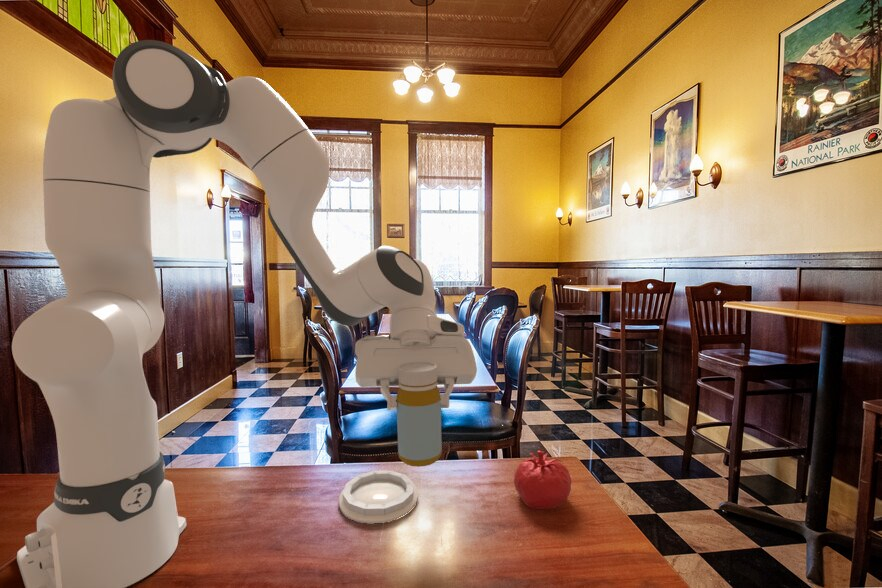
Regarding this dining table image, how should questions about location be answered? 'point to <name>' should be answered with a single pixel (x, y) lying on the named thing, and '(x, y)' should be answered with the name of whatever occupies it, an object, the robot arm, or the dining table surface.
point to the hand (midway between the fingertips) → (418, 407)
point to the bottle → (418, 414)
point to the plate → (378, 497)
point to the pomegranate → (542, 482)
